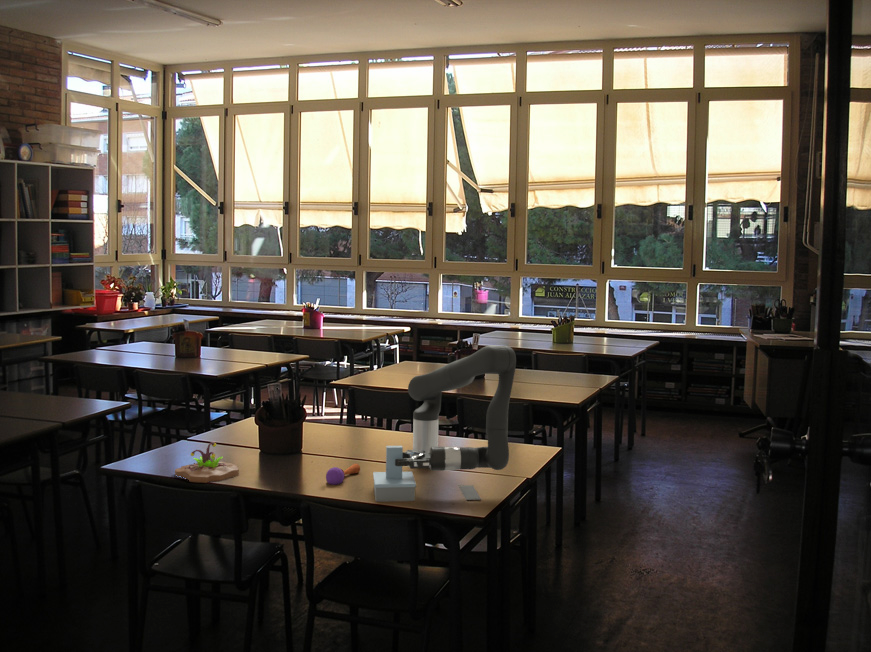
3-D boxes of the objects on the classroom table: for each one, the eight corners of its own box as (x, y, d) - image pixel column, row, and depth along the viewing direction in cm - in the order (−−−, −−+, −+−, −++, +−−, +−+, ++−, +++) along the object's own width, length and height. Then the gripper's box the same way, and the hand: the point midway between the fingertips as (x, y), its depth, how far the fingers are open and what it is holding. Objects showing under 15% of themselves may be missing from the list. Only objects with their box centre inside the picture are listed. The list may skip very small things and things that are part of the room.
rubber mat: (431, 487, 265) (431, 485, 265) (472, 486, 266) (472, 485, 266) (436, 501, 249) (436, 500, 249) (481, 500, 250) (481, 499, 250)
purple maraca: (365, 462, 281) (341, 471, 262) (361, 478, 281) (337, 489, 262) (350, 457, 282) (324, 466, 263) (346, 474, 283) (321, 484, 264)
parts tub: (373, 490, 259) (374, 475, 259) (410, 489, 261) (411, 474, 260) (375, 503, 246) (375, 487, 245) (414, 502, 247) (414, 486, 247)
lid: (373, 475, 259) (373, 441, 258) (411, 474, 261) (412, 441, 260) (374, 487, 245) (375, 452, 244) (415, 487, 246) (416, 451, 246)
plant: (249, 475, 277) (249, 443, 276) (199, 486, 262) (199, 452, 261) (217, 464, 290) (216, 434, 289) (167, 475, 276) (167, 442, 275)
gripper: (442, 441, 261) (392, 442, 259) (448, 452, 247) (395, 452, 245) (442, 464, 262) (392, 465, 260) (447, 476, 247) (395, 476, 245)
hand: (394, 459), depth 252 cm, fingers open, 8 cm apart
